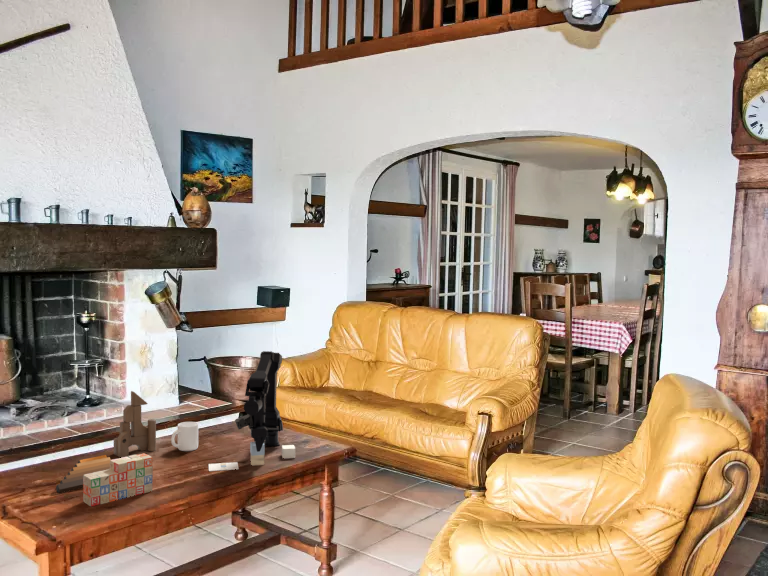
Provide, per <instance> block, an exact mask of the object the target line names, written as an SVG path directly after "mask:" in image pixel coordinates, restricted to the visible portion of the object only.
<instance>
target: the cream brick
mask: <svg viewBox="0 0 768 576" xmlns="http://www.w3.org/2000/svg"><path fill="white" fill-rule="evenodd" d="M281 457H282V459H283V458H284V459H295V458H296V446H295V445H294V444H288V445H287V444H285V445H283V444H282V445H281Z"/></svg>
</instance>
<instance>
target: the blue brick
mask: <svg viewBox="0 0 768 576" xmlns="http://www.w3.org/2000/svg"><path fill="white" fill-rule="evenodd" d="M249 446H250V447H249V452H250V457H251V456H255V455H264V456H265V455H266V454H265V452H266V451H265V450H266V449H265V447H266V446H265V445H264V443H263V445H262V448H261V450H260V452H257V449H256V443H255V442H254V441H250V445H249Z"/></svg>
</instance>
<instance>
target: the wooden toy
mask: <svg viewBox="0 0 768 576" xmlns="http://www.w3.org/2000/svg"><path fill="white" fill-rule="evenodd" d="M145 405H146V406H147V405H148V402H147V401H146V400H145V399H143V398H142V397H141V396H140V395H139V394H137V392H135V391H133V390H131V391H130V404H128V405H126V407H124V409H123V410H122V417H123V418H122V421H119V435H118V437H116V438H113V455H114V456H117V457H119V458H120V457H121V458H123V457H128V456H130V455H129V454H130V453H129V452H130V451H129V449H130V447H131V446H137V450H139V451H140V452H142V451H148V452H154V451H155V452H156V451H157V437H156V436H157V421H156V420H157V419H155V418H152V419H151V418H150V419H148V420H147V426H146V425H144V424H143V423H142V406H145Z"/></svg>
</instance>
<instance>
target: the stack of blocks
mask: <svg viewBox="0 0 768 576" xmlns="http://www.w3.org/2000/svg"><path fill="white" fill-rule="evenodd" d="M153 474H154V466H153V456H151V455H149V454H146V453H138V454H131V455H129V456H126V457H121V458H120V457H119V458H113V460H112V459H111V460H110V469H108V470H103V471H98V472H94V473H89V474H85V475H83V488H82V493H83V494H82V495H83V496H82V497H83V503H85V504H87V505H88V506H89V507H95V506H99V505H103V504H107V503H111V502H116V501H119V500H123V499H127V498H131V497H134V495H135V496H139V495H143V494H146V493H150V491H151V492H153ZM142 493H143V494H142ZM130 496H131V497H130ZM126 497H127V498H126ZM122 498H123V499H122ZM118 499H119V500H118ZM115 500H116V501H115Z"/></svg>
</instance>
